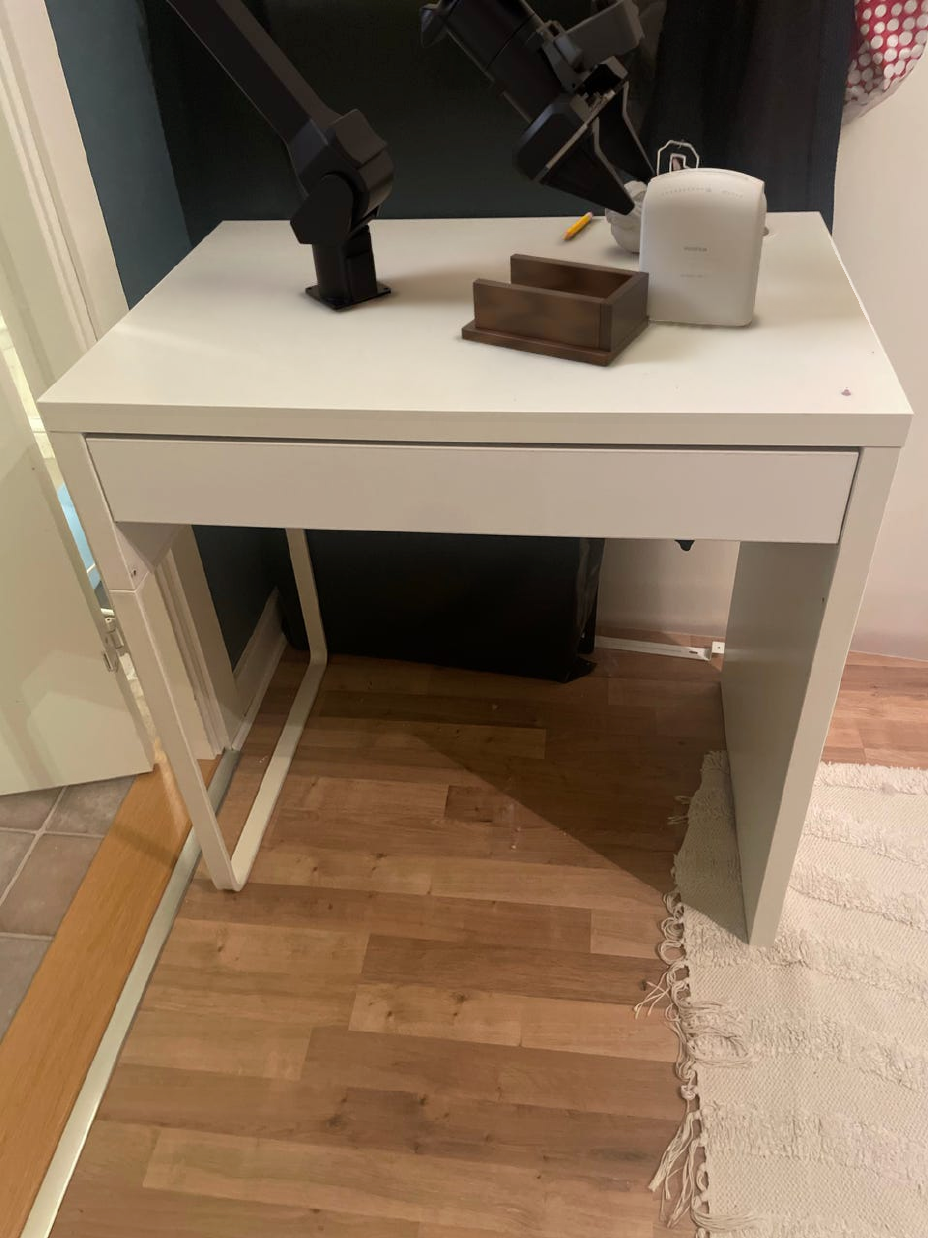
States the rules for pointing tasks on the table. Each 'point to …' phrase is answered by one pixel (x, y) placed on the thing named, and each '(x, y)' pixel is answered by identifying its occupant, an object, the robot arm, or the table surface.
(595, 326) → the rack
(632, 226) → the frog figurine
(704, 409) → the table surface
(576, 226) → the pencil
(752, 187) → the photo printer
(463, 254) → the table surface
